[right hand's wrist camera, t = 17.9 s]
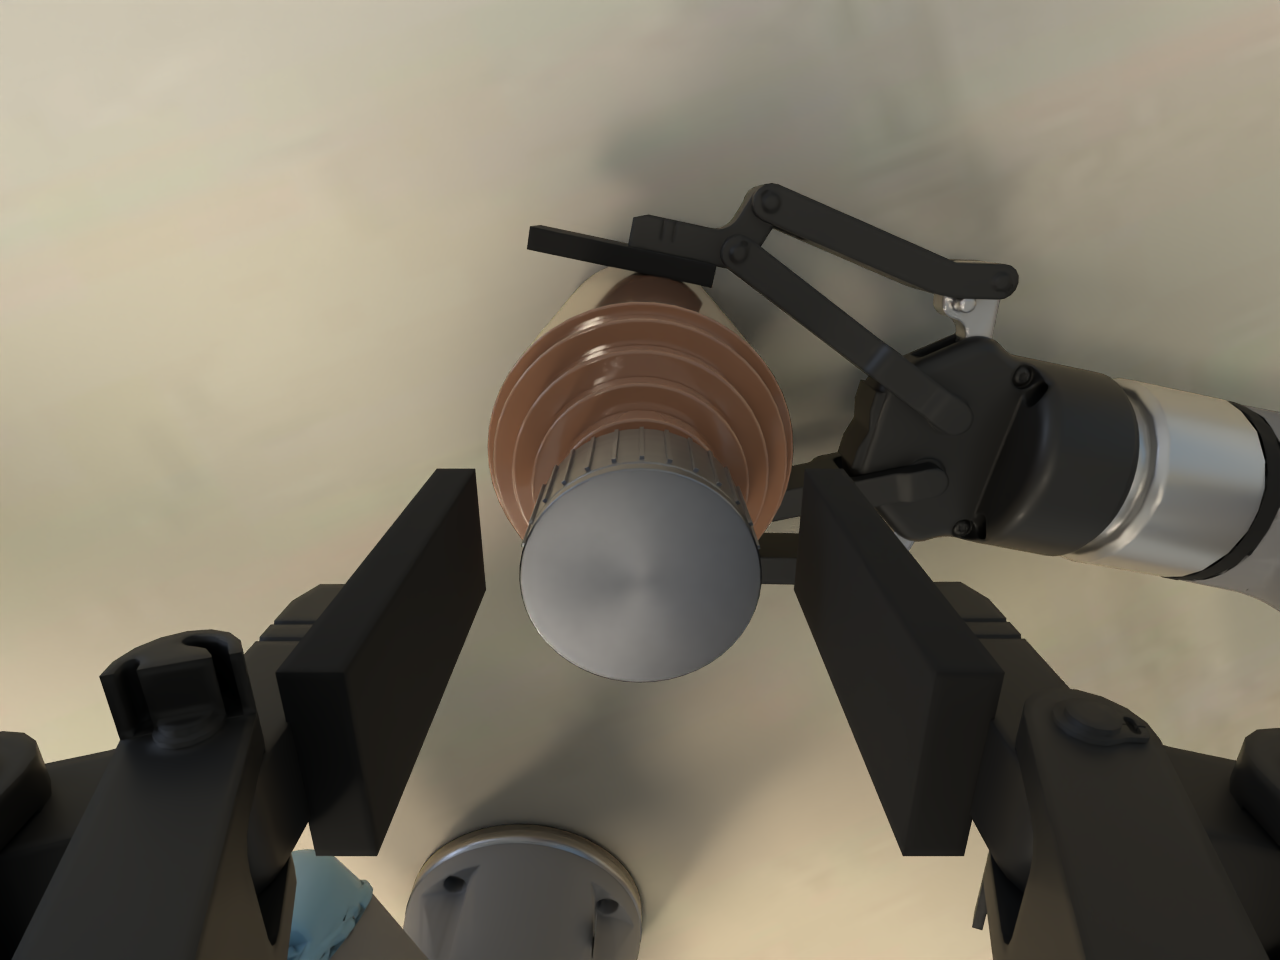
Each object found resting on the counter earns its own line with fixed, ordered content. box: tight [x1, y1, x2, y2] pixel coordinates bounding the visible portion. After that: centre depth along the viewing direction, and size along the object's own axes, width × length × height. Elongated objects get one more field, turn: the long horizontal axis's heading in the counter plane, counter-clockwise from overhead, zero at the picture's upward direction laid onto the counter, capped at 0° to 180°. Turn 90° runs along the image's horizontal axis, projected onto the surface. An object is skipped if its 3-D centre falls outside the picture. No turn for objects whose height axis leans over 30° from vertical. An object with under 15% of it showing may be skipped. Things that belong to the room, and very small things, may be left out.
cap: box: [520, 427, 762, 682], centre depth 13 cm, size 4×4×2 cm
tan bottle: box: [488, 266, 793, 540], centre depth 23 cm, size 8×8×22 cm
